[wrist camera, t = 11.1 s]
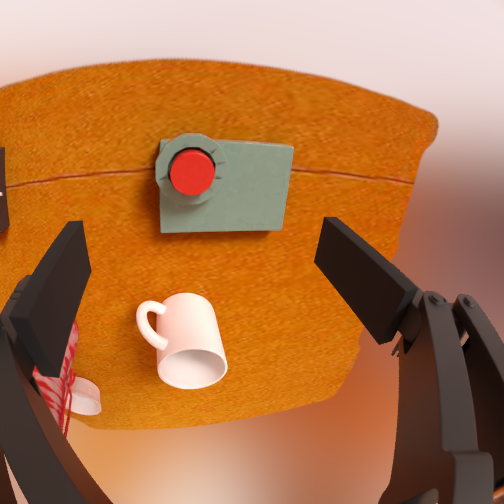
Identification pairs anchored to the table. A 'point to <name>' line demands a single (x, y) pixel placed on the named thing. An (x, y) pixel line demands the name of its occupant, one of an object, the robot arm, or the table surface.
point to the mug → (184, 340)
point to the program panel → (3, 194)
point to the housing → (226, 186)
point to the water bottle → (60, 383)
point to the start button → (192, 172)
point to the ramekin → (84, 397)
